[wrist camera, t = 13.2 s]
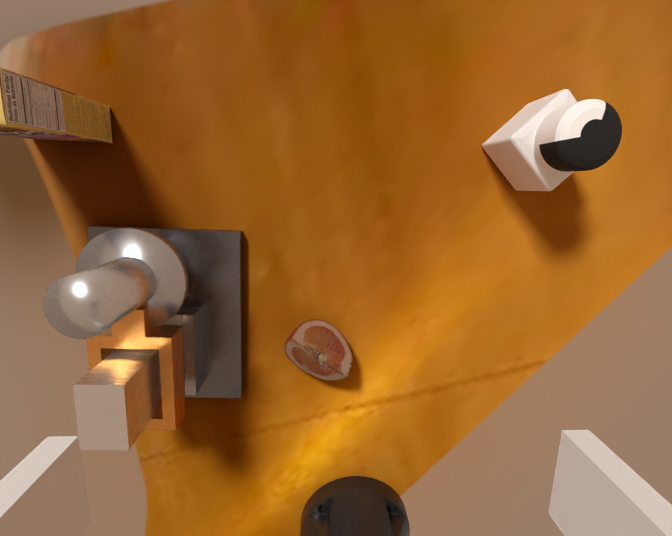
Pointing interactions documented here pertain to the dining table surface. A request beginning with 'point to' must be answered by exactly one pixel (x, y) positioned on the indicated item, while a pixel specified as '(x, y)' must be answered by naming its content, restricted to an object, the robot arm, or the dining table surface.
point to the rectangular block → (118, 399)
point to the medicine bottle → (554, 141)
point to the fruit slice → (319, 350)
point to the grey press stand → (160, 307)
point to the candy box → (49, 112)
